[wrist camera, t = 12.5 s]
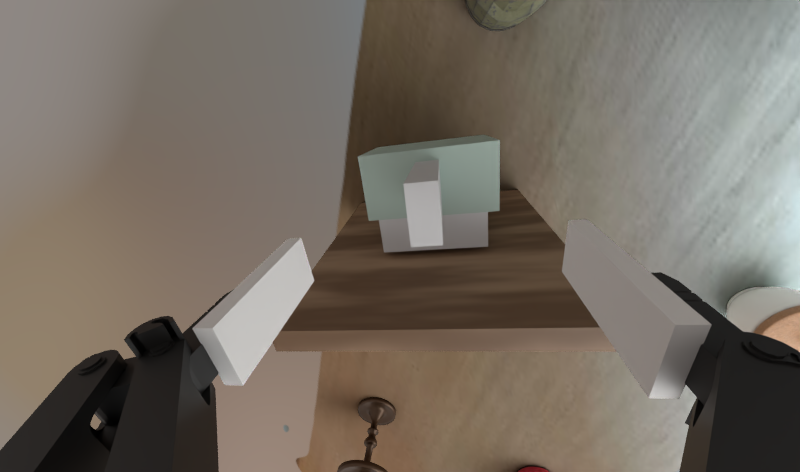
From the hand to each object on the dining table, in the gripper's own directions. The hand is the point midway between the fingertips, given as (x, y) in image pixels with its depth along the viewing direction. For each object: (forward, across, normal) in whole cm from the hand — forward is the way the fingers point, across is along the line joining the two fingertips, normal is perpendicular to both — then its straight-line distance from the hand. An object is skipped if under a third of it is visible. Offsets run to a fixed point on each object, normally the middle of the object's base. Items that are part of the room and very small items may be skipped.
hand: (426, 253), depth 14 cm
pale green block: (+21, 0, -2) cm, 21 cm away
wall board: (+30, 0, -9) cm, 31 cm away
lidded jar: (+30, +48, -29) cm, 63 cm away
